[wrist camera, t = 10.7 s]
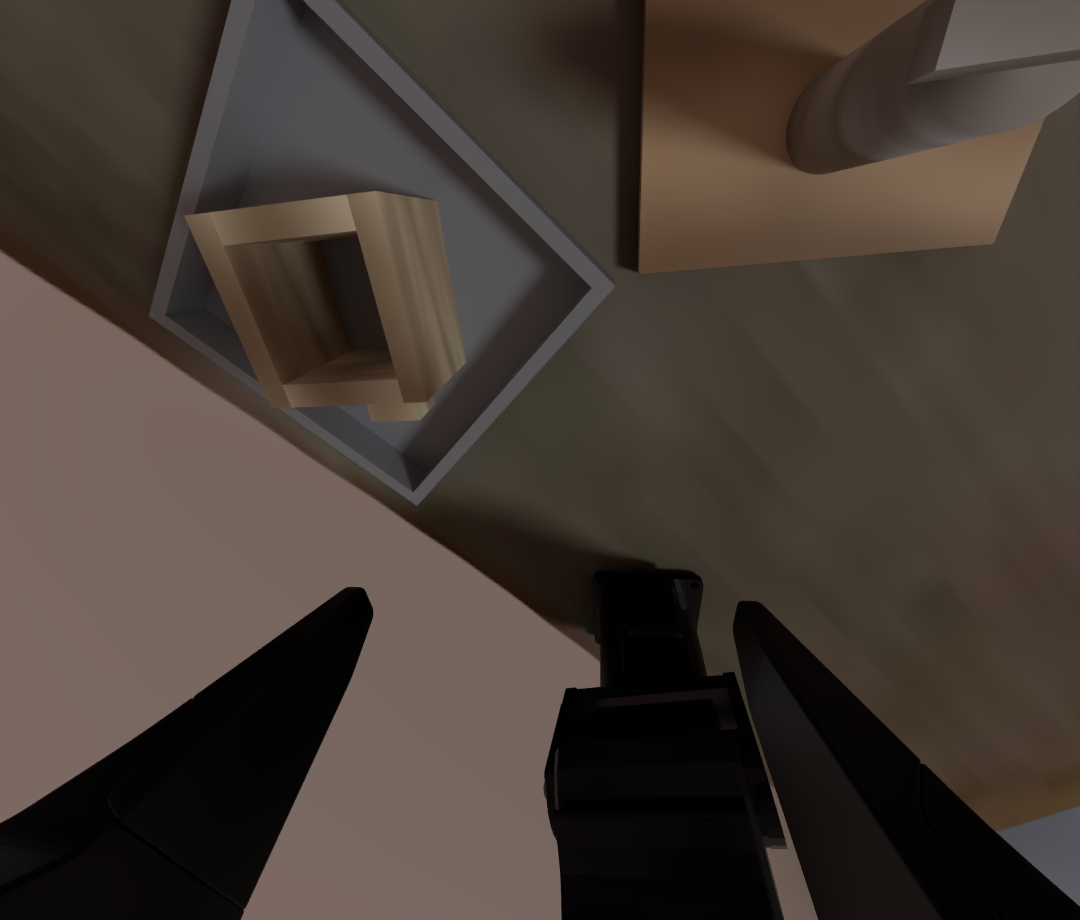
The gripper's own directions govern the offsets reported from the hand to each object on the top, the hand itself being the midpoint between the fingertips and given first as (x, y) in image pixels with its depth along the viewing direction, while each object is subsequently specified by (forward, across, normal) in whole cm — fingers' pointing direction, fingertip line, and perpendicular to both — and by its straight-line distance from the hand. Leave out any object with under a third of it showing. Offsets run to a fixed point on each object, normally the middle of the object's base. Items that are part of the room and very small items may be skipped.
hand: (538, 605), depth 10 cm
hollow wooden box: (+11, +8, -6) cm, 15 cm away
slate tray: (+12, +8, -6) cm, 15 cm away
